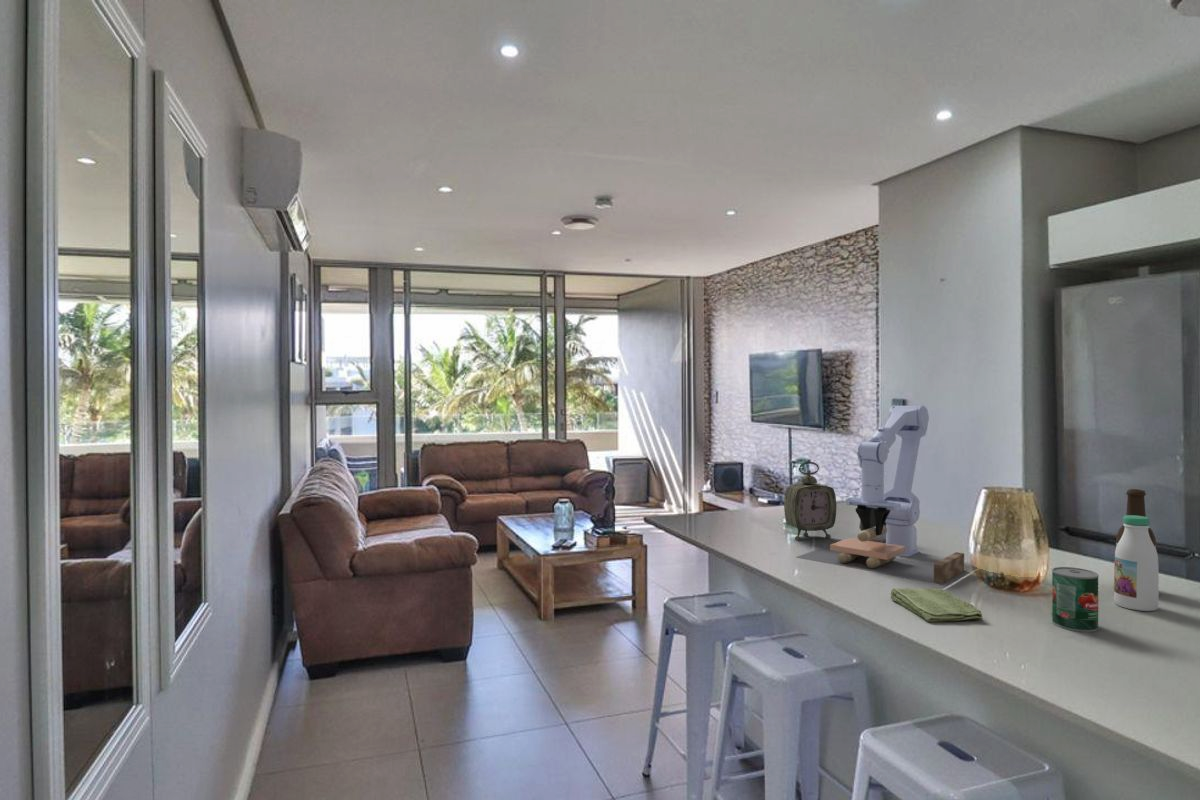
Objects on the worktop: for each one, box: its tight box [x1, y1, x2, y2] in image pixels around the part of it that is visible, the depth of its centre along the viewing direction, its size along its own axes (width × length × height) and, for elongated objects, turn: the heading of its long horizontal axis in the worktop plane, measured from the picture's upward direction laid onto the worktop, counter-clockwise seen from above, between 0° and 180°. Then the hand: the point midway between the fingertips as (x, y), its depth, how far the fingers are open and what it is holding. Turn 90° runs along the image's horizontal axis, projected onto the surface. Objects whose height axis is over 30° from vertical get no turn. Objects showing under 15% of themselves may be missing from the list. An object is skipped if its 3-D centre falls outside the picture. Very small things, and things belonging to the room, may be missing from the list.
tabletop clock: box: [783, 461, 837, 541], centre depth 222 cm, size 14×9×25 cm, turn 102°
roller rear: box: [838, 552, 862, 563], centre depth 193 cm, size 14×3×3 cm, turn 135°
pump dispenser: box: [858, 505, 886, 543], centre depth 218 cm, size 10×10×15 cm
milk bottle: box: [1113, 515, 1160, 612], centre depth 152 cm, size 8×8×20 cm
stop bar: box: [933, 551, 965, 583], centre depth 176 cm, size 16×2×5 cm, turn 135°
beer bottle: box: [1115, 488, 1157, 549], centre depth 164 cm, size 8×8×24 cm
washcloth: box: [890, 587, 983, 623], centre depth 152 cm, size 13×18×3 cm
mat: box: [796, 545, 968, 586], centre depth 189 cm, size 18×40×1 cm, turn 45°
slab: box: [829, 537, 905, 560], centre depth 191 cm, size 12×16×2 cm
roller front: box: [866, 556, 897, 569], centre depth 188 cm, size 14×3×3 cm, turn 135°
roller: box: [856, 526, 887, 542], centre depth 189 cm, size 13×3×3 cm, turn 133°
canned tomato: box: [1051, 566, 1099, 633], centre depth 141 cm, size 8×8×11 cm
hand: (872, 533), depth 190 cm, fingers closed on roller, 3 cm apart
